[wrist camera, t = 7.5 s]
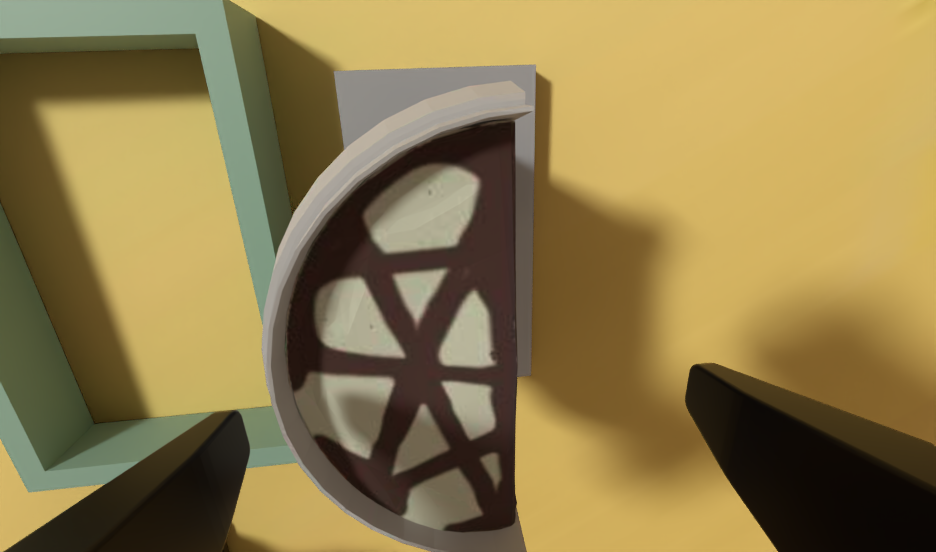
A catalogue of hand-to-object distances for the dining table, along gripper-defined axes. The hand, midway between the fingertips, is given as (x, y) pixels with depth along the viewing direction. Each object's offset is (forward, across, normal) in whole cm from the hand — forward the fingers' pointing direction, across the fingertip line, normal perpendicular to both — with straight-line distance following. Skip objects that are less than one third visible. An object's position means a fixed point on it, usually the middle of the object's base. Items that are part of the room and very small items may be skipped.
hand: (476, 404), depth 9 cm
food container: (+11, +2, 0) cm, 11 cm away
